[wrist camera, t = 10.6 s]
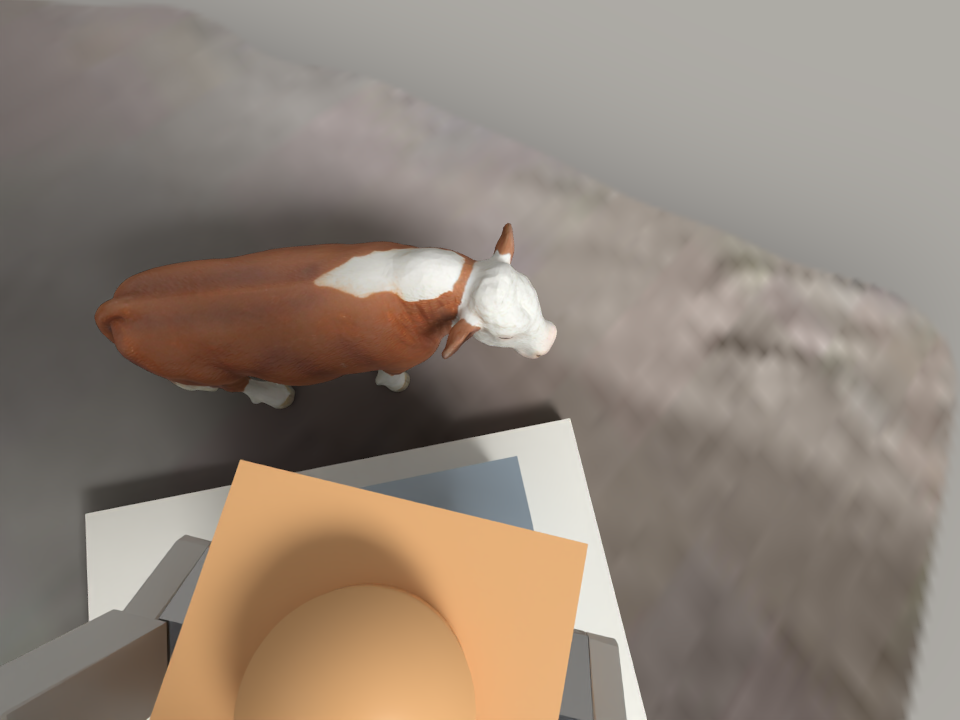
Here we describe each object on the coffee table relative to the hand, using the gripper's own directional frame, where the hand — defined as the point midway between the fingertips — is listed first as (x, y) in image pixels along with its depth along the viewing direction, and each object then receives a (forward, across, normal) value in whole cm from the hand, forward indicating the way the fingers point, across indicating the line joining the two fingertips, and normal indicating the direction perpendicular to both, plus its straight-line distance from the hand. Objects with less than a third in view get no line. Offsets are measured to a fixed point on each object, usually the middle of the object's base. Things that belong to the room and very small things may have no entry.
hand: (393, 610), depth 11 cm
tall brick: (+3, 0, +4) cm, 5 cm away
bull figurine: (+14, +4, +4) cm, 15 cm away
